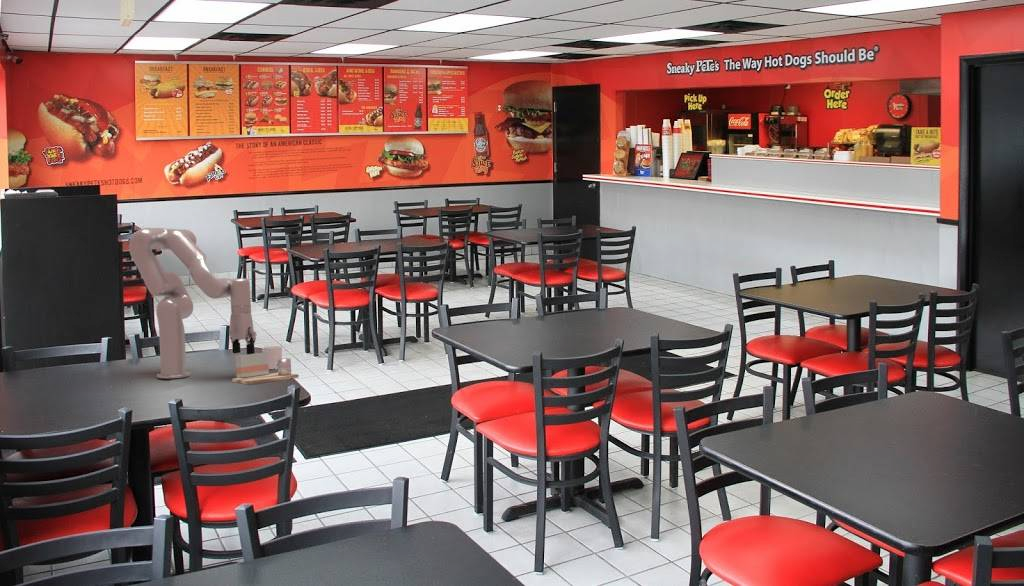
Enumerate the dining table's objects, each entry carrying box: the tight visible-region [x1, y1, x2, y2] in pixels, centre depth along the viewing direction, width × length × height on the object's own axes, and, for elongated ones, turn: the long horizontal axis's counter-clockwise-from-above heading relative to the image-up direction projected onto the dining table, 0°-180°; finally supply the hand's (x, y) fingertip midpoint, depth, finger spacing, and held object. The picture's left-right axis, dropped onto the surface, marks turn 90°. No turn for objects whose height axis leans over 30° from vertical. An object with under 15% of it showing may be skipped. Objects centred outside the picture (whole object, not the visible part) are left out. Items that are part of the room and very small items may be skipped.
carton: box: [234, 352, 270, 378], centre depth 379 cm, size 8×12×4 cm
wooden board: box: [231, 371, 299, 386], centre depth 377 cm, size 12×22×1 cm, turn 139°
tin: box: [277, 357, 292, 375], centre depth 381 cm, size 5×5×6 cm
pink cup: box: [261, 345, 283, 370], centre depth 401 cm, size 8×8×10 cm
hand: (243, 353), depth 383 cm, fingers open, 9 cm apart
